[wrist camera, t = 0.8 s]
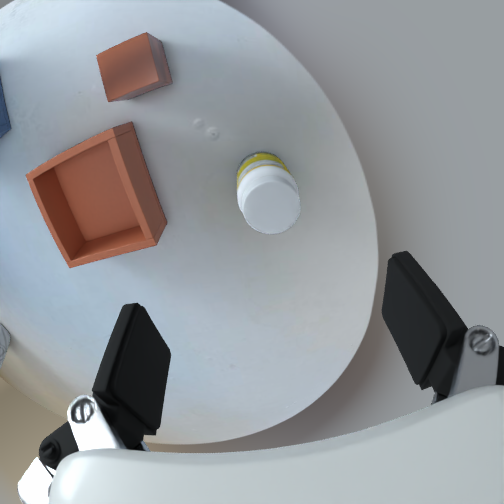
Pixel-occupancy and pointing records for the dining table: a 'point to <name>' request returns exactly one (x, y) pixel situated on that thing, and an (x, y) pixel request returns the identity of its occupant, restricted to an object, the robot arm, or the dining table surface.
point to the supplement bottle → (267, 193)
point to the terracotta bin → (99, 198)
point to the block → (133, 68)
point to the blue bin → (3, 115)
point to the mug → (3, 343)
